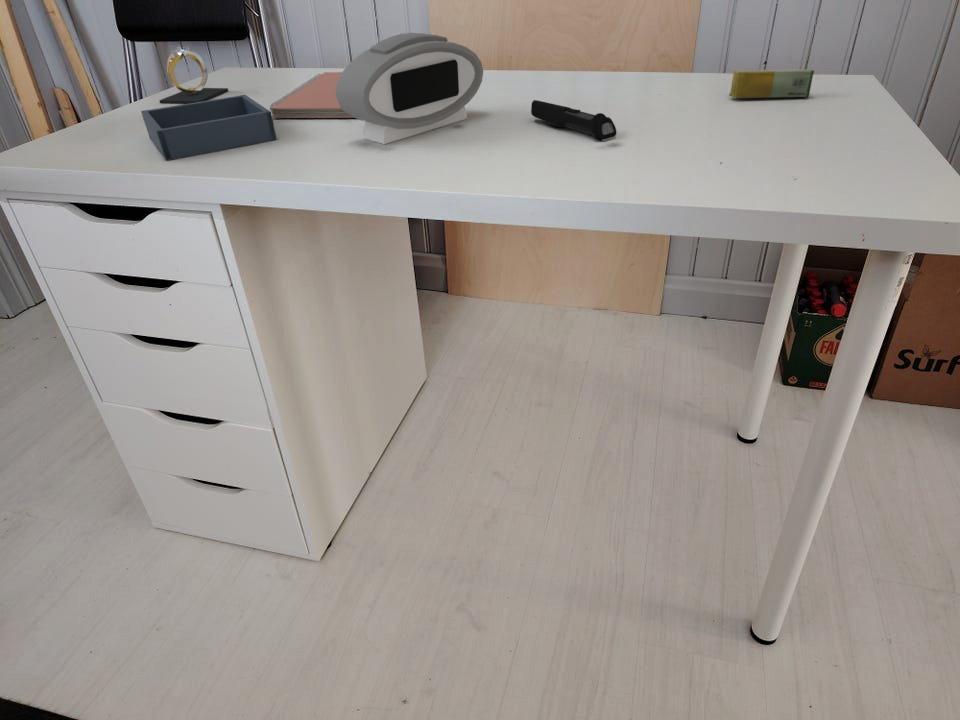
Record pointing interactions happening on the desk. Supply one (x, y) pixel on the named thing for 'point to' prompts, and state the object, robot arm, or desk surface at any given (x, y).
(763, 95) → the medication box
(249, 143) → the dark blue tray
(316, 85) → the notebook
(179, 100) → the mat
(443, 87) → the alarm clock
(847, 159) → the desk surface
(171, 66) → the ring
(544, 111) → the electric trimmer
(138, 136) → the desk surface
